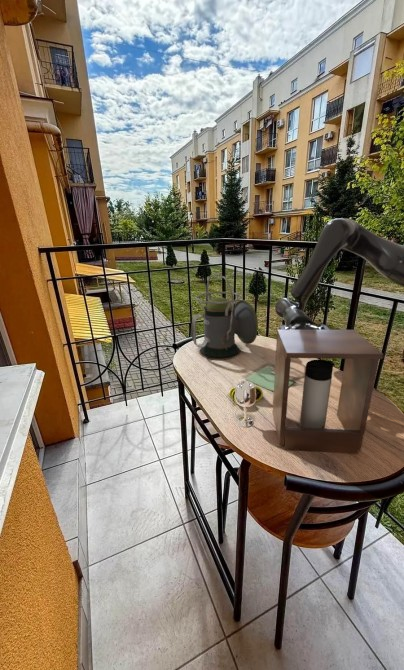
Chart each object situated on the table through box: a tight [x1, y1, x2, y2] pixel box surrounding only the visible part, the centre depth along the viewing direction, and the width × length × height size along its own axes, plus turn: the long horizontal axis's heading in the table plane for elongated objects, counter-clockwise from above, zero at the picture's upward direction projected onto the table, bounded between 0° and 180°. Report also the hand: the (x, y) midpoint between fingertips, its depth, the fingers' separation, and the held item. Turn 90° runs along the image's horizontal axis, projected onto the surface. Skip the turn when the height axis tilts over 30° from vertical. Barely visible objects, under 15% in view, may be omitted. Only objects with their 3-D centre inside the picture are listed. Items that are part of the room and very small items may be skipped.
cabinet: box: [272, 329, 384, 455], centre depth 71 cm, size 15×19×26 cm
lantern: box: [190, 273, 259, 361], centre depth 122 cm, size 25×29×35 cm
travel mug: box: [299, 358, 335, 429], centre depth 72 cm, size 6×7×20 cm
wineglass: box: [235, 380, 257, 428], centre depth 78 cm, size 6×6×12 cm
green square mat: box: [244, 365, 296, 393], centre depth 102 cm, size 14×14×1 cm
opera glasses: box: [228, 385, 264, 406], centre depth 89 cm, size 10×5×5 cm, turn 106°
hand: (309, 340), depth 79 cm, fingers open, 8 cm apart
